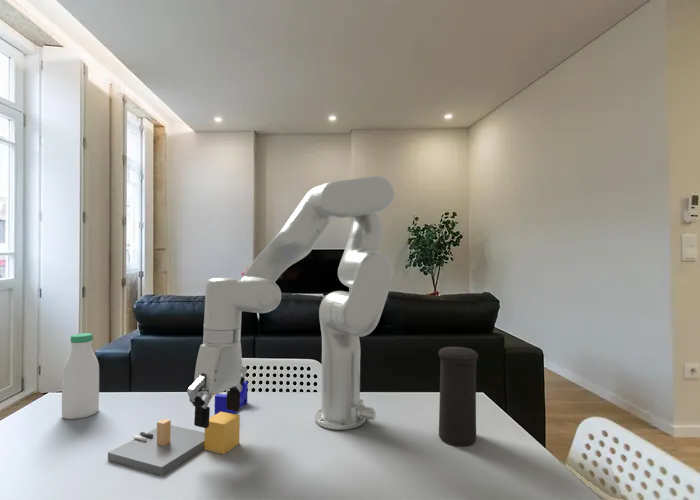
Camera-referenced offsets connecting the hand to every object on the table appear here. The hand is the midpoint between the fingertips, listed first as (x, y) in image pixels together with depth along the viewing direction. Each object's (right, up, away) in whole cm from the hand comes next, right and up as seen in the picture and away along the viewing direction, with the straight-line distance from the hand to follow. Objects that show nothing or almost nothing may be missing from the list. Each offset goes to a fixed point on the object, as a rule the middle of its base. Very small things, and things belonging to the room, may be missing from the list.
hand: (217, 417), depth 82 cm
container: (+52, -7, +5) cm, 53 cm away
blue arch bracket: (-4, -7, +19) cm, 21 cm away
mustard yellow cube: (+1, -6, 0) cm, 6 cm away
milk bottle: (-40, -6, +16) cm, 44 cm away
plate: (-11, -6, -2) cm, 12 cm away
